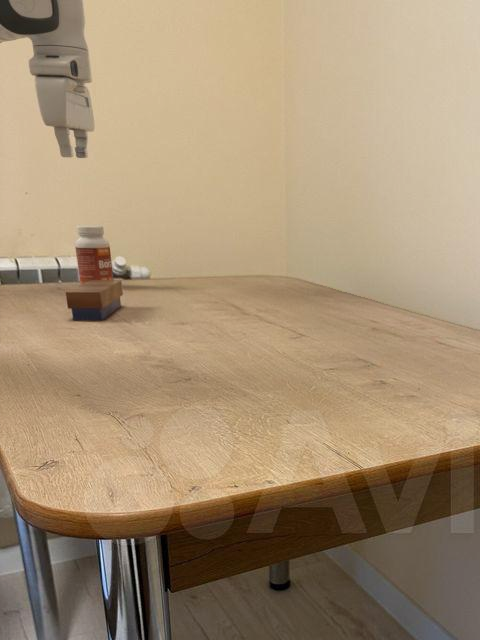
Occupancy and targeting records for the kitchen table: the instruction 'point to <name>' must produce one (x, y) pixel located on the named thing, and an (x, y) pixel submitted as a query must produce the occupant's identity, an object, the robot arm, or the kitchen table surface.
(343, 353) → the kitchen table surface
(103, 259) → the pill bottle
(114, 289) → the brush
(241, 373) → the kitchen table surface
